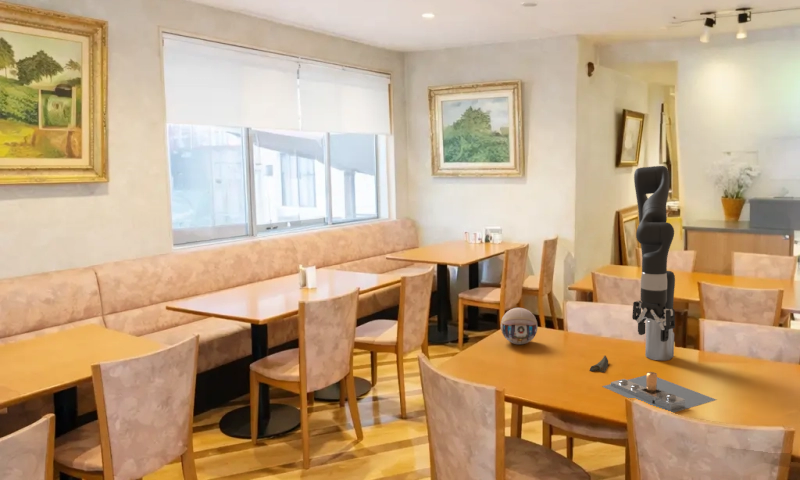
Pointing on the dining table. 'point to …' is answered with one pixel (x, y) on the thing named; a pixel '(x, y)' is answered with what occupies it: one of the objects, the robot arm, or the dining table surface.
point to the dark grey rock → (600, 365)
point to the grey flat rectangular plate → (682, 392)
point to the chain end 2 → (663, 399)
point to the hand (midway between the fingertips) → (652, 337)
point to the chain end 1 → (630, 388)
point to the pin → (651, 382)
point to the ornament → (519, 326)
